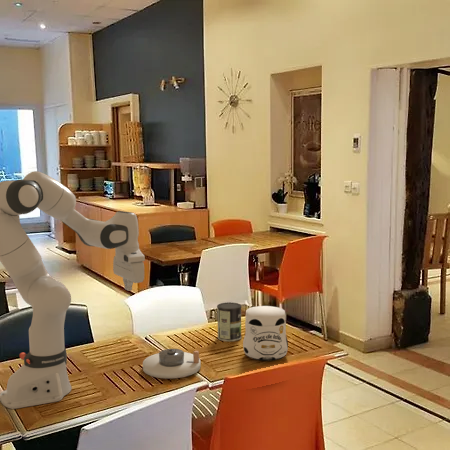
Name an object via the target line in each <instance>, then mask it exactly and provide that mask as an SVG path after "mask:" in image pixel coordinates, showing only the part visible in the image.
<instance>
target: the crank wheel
mask: <svg viewBox="0 0 450 450" xmlns="http://www.w3.org/2000/svg"><path fill="white" fill-rule="evenodd" d="M183 352H184V363H183V364H182V365H180V366H176V367H165V366H162V365H160V364H159V352H158V353H155V354H152V355H150V356H147V357H146V358H145V359H144V360H143V361H142V371H143V372H144V373H145V374H146V375H148V376H151V377H153V378H158V379H180V378H185V377H189V376H192V375H193V374H196V373H197V372H198V371H200V369H201V366H202V365H201V359H200V353H199V352H200V351H199V350H194V351H193V352H192V353H190V352H186V351H183Z"/></svg>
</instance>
